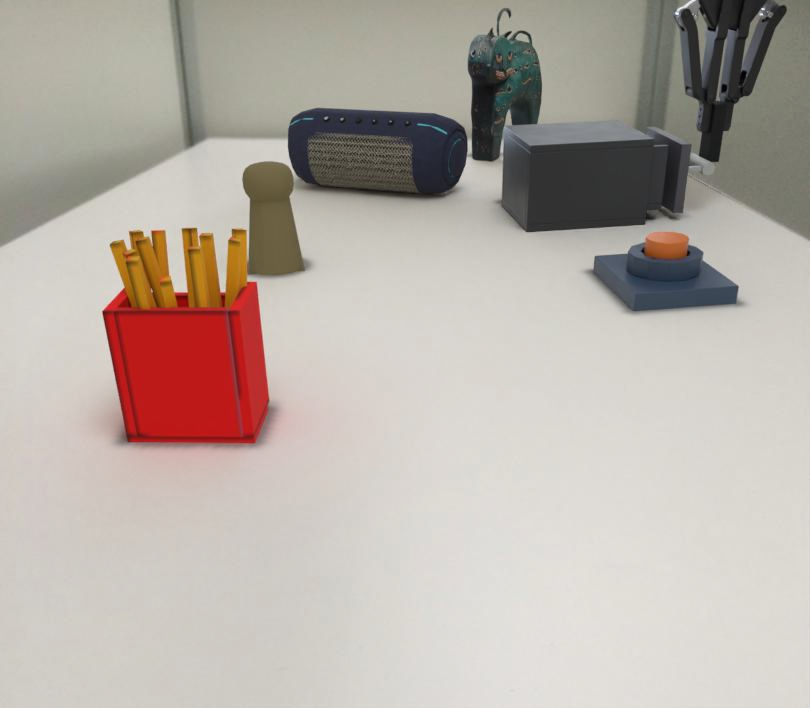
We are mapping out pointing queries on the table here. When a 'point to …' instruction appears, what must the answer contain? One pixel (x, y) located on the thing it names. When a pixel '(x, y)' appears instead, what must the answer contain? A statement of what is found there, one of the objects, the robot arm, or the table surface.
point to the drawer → (672, 170)
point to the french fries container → (187, 343)
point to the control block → (664, 280)
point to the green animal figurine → (501, 87)
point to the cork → (271, 220)
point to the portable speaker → (377, 150)
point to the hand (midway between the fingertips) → (708, 159)
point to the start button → (666, 245)
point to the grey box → (576, 175)
